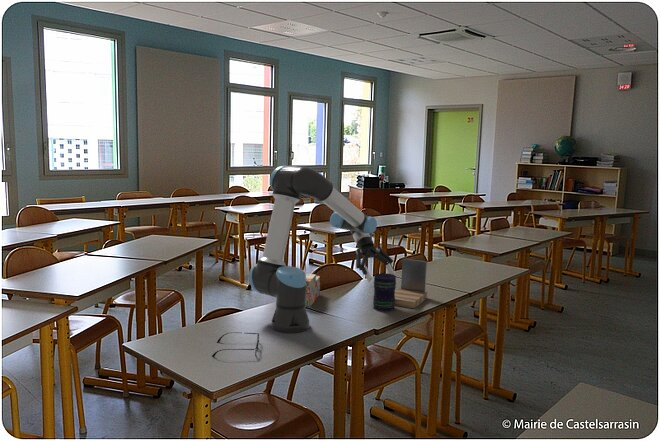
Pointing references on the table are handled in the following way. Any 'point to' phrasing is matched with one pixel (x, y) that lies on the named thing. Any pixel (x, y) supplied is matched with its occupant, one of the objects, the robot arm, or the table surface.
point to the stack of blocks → (312, 288)
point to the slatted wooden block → (409, 298)
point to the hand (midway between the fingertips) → (382, 278)
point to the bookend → (414, 275)
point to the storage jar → (384, 292)
